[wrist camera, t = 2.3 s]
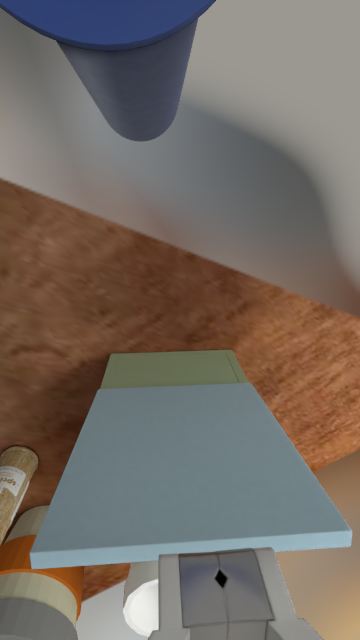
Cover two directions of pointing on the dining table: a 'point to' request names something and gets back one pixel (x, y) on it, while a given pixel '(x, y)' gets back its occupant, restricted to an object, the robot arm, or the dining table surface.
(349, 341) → the dining table surface
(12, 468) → the sprinkles bottle
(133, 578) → the foam cup
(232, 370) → the display box
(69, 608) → the reusable coffee cup
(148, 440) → the hatch
